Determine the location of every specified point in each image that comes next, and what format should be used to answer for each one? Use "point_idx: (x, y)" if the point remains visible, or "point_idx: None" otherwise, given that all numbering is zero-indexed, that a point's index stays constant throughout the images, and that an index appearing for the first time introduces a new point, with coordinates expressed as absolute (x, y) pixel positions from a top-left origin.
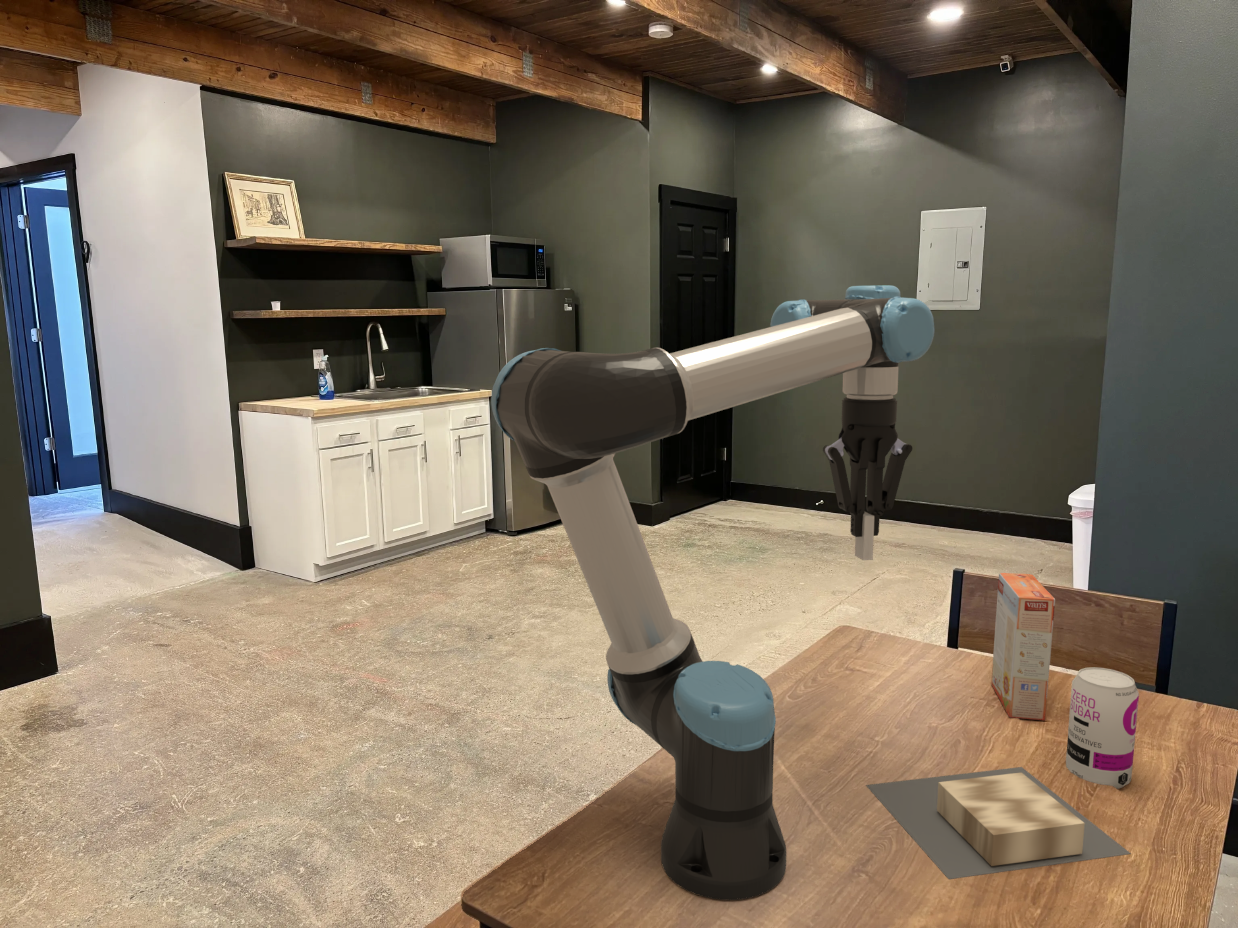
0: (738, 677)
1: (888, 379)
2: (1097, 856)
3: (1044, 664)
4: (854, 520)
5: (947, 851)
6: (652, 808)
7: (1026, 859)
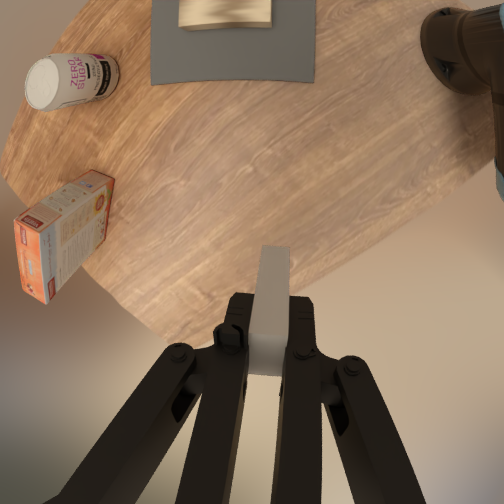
0: None
1: None
2: None
3: (63, 189)
4: (315, 337)
5: None
6: (479, 131)
7: None
